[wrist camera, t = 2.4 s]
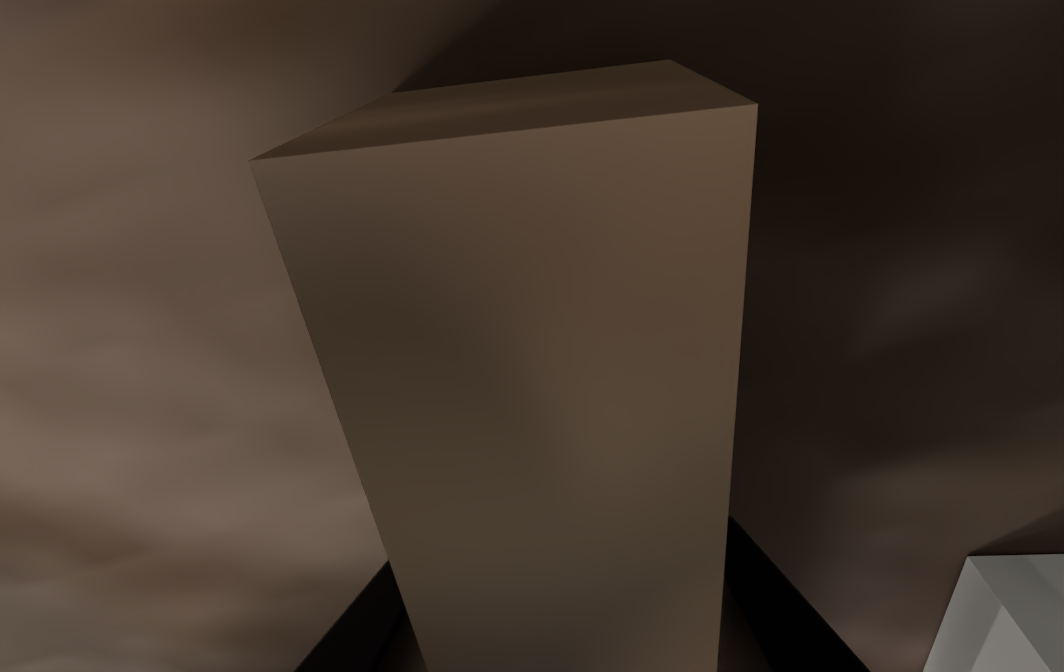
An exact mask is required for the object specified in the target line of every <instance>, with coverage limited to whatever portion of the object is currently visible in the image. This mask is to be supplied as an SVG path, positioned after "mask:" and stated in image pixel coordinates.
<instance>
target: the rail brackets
mask: <svg viewBox="0 0 1064 672" xmlns="http://www.w3.org/2000/svg"><path fill="white" fill-rule="evenodd" d="M923 672H1064V554H1044V555H1001V556H967V559H966V561H965V564H964V566H963V569H962V572H961V574H960V577H959V579H958V582H957V584H956V587H955V590H954V592H953V595H952V597H951V600H950V602H949V605H948V608H947V610H946V613H945V615H944V618H943V621H942V623H941V626H940V628H939V631H938V633H937V636H936V639H935V641H934V644H933V646H932V649H931V651H930V654H929V657H928V659H927V662H926V664H925V667H924V670H923Z"/></svg>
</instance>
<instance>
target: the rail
mask: <svg viewBox="0 0 1064 672" xmlns="http://www.w3.org/2000/svg"><path fill="white" fill-rule="evenodd" d="M757 113H758V104H757V103H756V102H754V101H752V100H750V99H748V98H746V97H744V96H742V95H740V94H738V93H736V92H734V91H732V90H730V89H728V88H726V87H724V86H722V85H720V84H718V83H716V82H714V81H712V80H710V79H708V78H706V77H704V76H702V75H700V74H698V73H696V72H694V71H692V70H690V69H688V68H686V67H684V66H682V65H680V64H678V63H676V62H674V61H672V60H670V59H668V60H660V61H652V62H644V63H635V64H627V65H619V66H611V67H602V68H594V69H586V70H578V71H569V72H561V73H553V74H545V75H536V76H528V77H520V78H512V79H503V80H495V81H487V82H479V83H470V84H462V85H454V86H446V87H437V88H429V89H421V90H413V91H404V92H396V93H390V94H388V95H386V96H384V97H382V98H380V99H378V100H376V101H373V102H371V103H369V104H367V105H365V106H363V107H361V108H359V109H357V110H354V111H352V112H350V113H348V114H346V115H344V116H342V117H340V118H338V119H335V120H333V121H331V122H329V123H327V124H325V125H323V126H321V127H319V128H316V129H314V130H312V131H310V132H308V133H306V134H304V135H302V136H300V137H297V138H295V139H293V140H291V141H289V142H287V143H285V144H283V145H281V146H278V147H276V148H274V149H272V150H270V151H268V152H266V153H264V154H262V155H259V156H257V157H255V158H253V159H251V160H249V164H250V166H251V169H252V172H253V175H254V178H255V181H256V183H257V186H258V189H259V192H260V195H261V198H262V201H263V203H264V206H265V209H266V212H267V215H268V218H269V220H270V223H271V226H272V229H273V232H274V235H275V238H276V240H277V243H278V246H279V249H280V252H281V255H282V257H283V260H284V263H285V266H286V269H287V272H288V275H289V277H290V280H291V283H292V286H293V289H294V292H295V294H296V297H297V300H298V303H299V306H300V309H301V311H302V314H303V317H304V320H305V323H306V326H307V329H308V331H309V334H310V337H311V340H312V343H313V346H314V348H315V351H316V354H317V357H318V360H319V363H320V366H321V368H322V371H323V374H324V377H325V380H326V383H327V385H328V388H329V391H330V394H331V397H332V400H333V403H334V405H335V408H336V411H337V414H338V417H339V420H340V422H341V425H342V428H343V431H344V434H345V437H346V439H347V442H348V445H349V448H350V451H351V454H352V457H353V459H354V462H355V465H356V468H357V471H358V474H359V476H360V479H361V482H362V485H363V488H364V491H365V494H366V496H367V499H368V502H369V505H370V508H371V511H372V513H373V516H374V519H375V522H376V525H377V528H378V531H379V533H380V536H381V539H382V542H383V545H384V548H385V550H386V553H387V556H388V559H389V562H390V565H391V567H392V570H393V573H394V576H395V579H396V582H397V585H398V587H399V590H400V593H401V596H402V599H403V602H404V604H405V607H406V610H407V613H408V616H409V619H410V622H411V624H412V627H413V630H414V633H415V636H416V639H417V641H418V644H419V647H420V650H421V653H422V656H423V659H424V661H425V664H426V667H427V670H428V672H717V662H718V648H719V634H720V621H721V607H722V593H723V579H724V566H725V552H726V538H727V525H728V511H729V497H730V483H731V470H732V456H733V442H734V428H735V415H736V401H737V387H738V374H739V360H740V346H741V332H742V319H743V305H744V291H745V278H746V264H747V250H748V236H749V223H750V209H751V195H752V181H753V168H754V154H755V140H756V127H757Z"/></svg>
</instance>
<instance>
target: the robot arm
mask: <svg viewBox="0 0 1064 672" xmlns="http://www.w3.org/2000/svg"><path fill="white" fill-rule="evenodd" d="M718 651H719V655H720V660H721V664H722V668H723V671H724V672H871V671H870V670H869V669H868V668H867V667H866V666H865V665H864V664H863V662H862V661H861V660H860V659H859V658H858V657H857V656H856V655H855V654H854V652H853V651H852V650H851V649H850V648H849V647H848V646H847V645H846V643H845V642H844V641H843V640H842V639H841V638H840V637H839V636H838V635H837V633H836V632H835V631H834V630H833V629H832V628H831V627H830V626H829V624H828V623H827V622H826V621H825V620H824V619H823V618H822V617H821V616H820V614H819V613H818V612H817V611H816V610H815V609H814V608H813V607H812V605H811V604H810V603H809V602H808V601H807V600H806V599H805V598H804V597H803V595H802V594H801V593H800V592H799V591H798V590H797V589H796V588H795V586H794V585H793V584H792V583H791V582H790V581H789V580H788V579H787V578H786V576H785V575H784V574H783V573H782V572H781V571H780V570H779V569H778V567H777V566H776V565H775V564H774V563H773V562H772V561H771V560H770V559H769V557H768V556H767V555H766V554H765V553H764V552H763V551H762V550H761V548H760V547H759V546H758V545H757V544H756V543H755V542H754V541H753V540H752V538H751V537H750V536H749V535H748V534H747V533H746V532H745V531H744V529H743V528H742V527H741V526H740V525H739V524H738V523H737V522H736V521H735V519H734V518H733V517H731V516H729V515H728V525H727V538H726V552H725V566H724V579H723V593H722V607H721V621H720V634H719V648H718ZM294 672H428V670H427V667H426V664H425V661H424V659H423V656H422V653H421V650H420V647H419V644H418V641H417V639H416V636H415V633H414V630H413V627H412V624H411V622H410V619H409V616H408V613H407V610H406V607H405V604H404V602H403V599H402V596H401V593H400V590H399V587H398V585H397V582H396V579H395V576H394V573H393V570H392V567H391V565H390V562H389V559H388V561H387V562H386V563H385V564H384V565H383V566H382V568H381V569H380V570H379V571H378V572H377V574H376V575H375V576H374V577H373V578H372V579H371V581H370V582H369V583H368V584H367V585H366V587H365V588H364V589H363V590H362V591H361V592H360V594H359V595H358V596H357V597H356V598H355V600H354V601H353V602H352V603H351V604H350V605H349V607H348V608H347V609H346V610H345V611H344V613H343V614H342V615H341V616H340V617H339V618H338V620H337V621H336V622H335V623H334V624H333V626H332V627H331V628H330V629H329V630H328V631H327V633H326V634H325V635H324V636H323V637H322V639H321V640H320V641H319V642H318V643H317V644H316V646H315V647H314V648H313V649H312V650H311V652H310V653H309V654H308V655H307V656H306V657H305V659H304V660H303V661H302V662H301V663H300V665H299V666H298V667H297V668H296V669H295V670H294Z"/></svg>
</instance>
